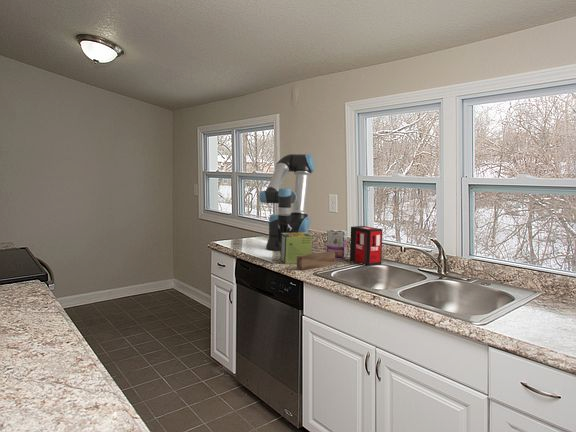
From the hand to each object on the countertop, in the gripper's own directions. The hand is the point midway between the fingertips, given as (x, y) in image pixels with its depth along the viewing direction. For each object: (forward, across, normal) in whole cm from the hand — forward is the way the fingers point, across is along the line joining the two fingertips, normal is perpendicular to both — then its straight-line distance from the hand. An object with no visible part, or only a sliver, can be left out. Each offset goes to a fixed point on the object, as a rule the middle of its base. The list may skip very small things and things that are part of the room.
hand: (283, 254), depth 253 cm
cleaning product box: (+3, +35, +32) cm, 47 cm away
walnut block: (+3, +28, +1) cm, 28 cm away
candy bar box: (+2, +13, +31) cm, 33 cm away
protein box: (+2, +10, +1) cm, 10 cm away
